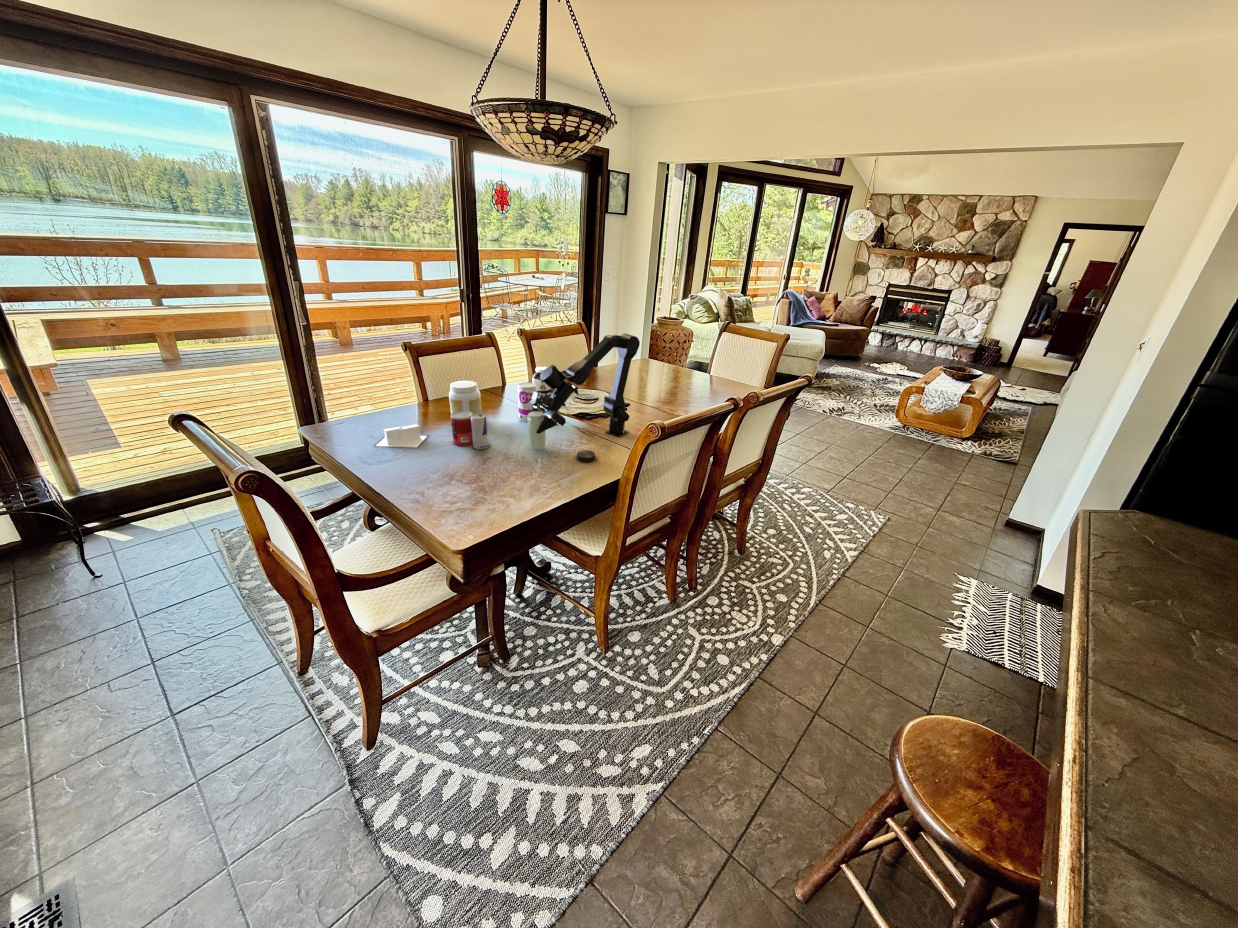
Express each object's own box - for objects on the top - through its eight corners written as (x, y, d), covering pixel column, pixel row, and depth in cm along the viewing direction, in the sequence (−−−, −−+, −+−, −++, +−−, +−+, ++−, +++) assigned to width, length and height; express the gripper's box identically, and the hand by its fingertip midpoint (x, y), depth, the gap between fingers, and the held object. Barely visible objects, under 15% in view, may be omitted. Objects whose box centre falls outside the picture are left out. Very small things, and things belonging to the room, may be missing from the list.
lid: (587, 464, 168) (587, 459, 167) (572, 459, 171) (572, 454, 170) (598, 458, 173) (598, 453, 172) (584, 453, 176) (584, 448, 176)
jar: (537, 441, 181) (535, 409, 175) (549, 445, 178) (548, 413, 172) (525, 446, 176) (523, 414, 171) (537, 450, 173) (536, 418, 168)
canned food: (479, 440, 182) (477, 413, 178) (465, 447, 176) (462, 419, 171) (463, 436, 185) (461, 409, 181) (449, 443, 179) (445, 415, 174)
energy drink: (491, 445, 179) (488, 415, 174) (483, 450, 174) (480, 419, 169) (478, 443, 180) (476, 412, 175) (470, 448, 176) (467, 417, 171)
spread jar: (531, 392, 240) (530, 369, 235) (538, 386, 251) (537, 364, 246) (554, 394, 239) (553, 371, 234) (560, 388, 249) (560, 366, 244)
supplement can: (534, 423, 202) (533, 388, 195) (515, 420, 203) (514, 386, 197) (541, 416, 209) (540, 383, 203) (523, 414, 210) (521, 381, 204)
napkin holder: (427, 435, 184) (425, 421, 182) (417, 447, 174) (415, 432, 172) (387, 434, 184) (385, 420, 181) (375, 446, 173) (372, 431, 171)
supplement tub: (482, 418, 204) (478, 379, 197) (484, 428, 194) (480, 387, 187) (451, 420, 201) (447, 380, 193) (452, 430, 190) (447, 389, 183)
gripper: (533, 376, 176) (507, 410, 175) (557, 390, 162) (528, 426, 161) (553, 394, 183) (528, 426, 182) (577, 408, 169) (550, 443, 169)
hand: (533, 430), depth 173 cm, fingers closed on jar, 6 cm apart
